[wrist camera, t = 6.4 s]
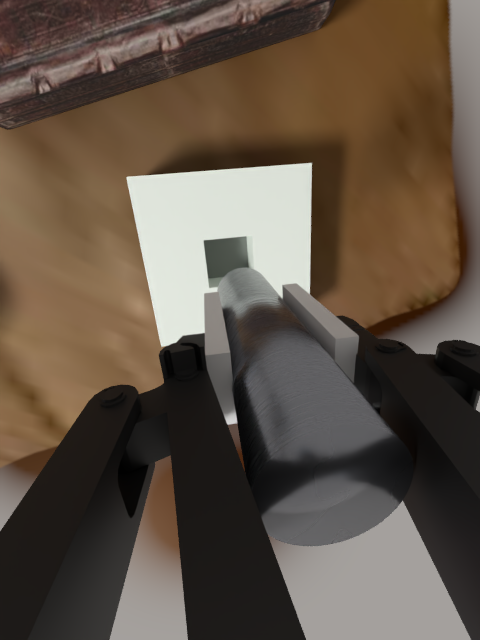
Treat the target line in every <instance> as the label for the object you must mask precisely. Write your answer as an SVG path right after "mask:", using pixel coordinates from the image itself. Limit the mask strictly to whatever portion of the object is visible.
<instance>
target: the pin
mask: <svg viewBox="0 0 480 640" xmlns="http://www.w3.org/2000/svg"><path fill="white" fill-rule="evenodd" d="M217 292H219V295H220V301H221V306H222V311H223V317H224V322H225V327H226V333H227V338H228V343H229V349H230V356H231V365H232V375H233V383H232V392H233V398H234V405H235V411H236V417H237V423H238V430H239V436H240V442H241V449H242V455H243V461H244V467H245V474H246V477H247V480H248V483H249V485H250V488H251V491H252V493H253V496H254V499H255V502H256V504H257V507H258V510H259V513H260V515H261V518H262V521H263V523H264V526H265V529H266V532H267V534H268V535H270V536H271V537H273V538H275V539H277V540H279V541H282V542H285V543H288V544H292V545H300V546H321V545H328V544H333V543H337V542H341V541H344V540H348V539H350V538H353V537H355V536H358V535H360V534H362V533H364V532H366V531H368V530H369V529H371V528H373V527H375V526H376V525H378V524H379V523H380V522H382V521H383V520H384V519H385V518H387V517H388V516H389V515H390V514H391V513H392V512H393V511H394V510H395V509H396V508H397V507H398V505H399V504H400V503H401V502H402V500H403V499H404V497H405V496H406V494H407V492H408V490H409V488H410V485H411V482H412V478H413V471H414V469H413V460H412V456H411V454H410V452H409V449H408V448H407V447H406V445H405V444H404V443H403V441H402V440H401V439H400V438H399V437H398V435H397V434H396V433H395V432H394V431H393V429H392V428H391V427H390V426H389V425H388V424H387V422H386V421H385V420H384V419H383V418H382V416H381V415H380V414H379V413H378V412H377V410H376V409H375V408H374V407H373V406H372V405H371V403H370V402H369V401H368V400H367V399H366V397H365V396H364V395H363V394H362V393H361V391H360V390H359V389H358V388H357V387H356V386H355V384H354V383H353V382H352V381H351V380H350V378H349V377H348V376H347V375H346V374H345V372H344V371H343V370H342V369H341V368H340V367H339V365H338V364H337V363H336V362H335V361H334V359H333V358H332V357H331V356H330V355H329V353H328V352H327V351H326V350H325V349H324V348H323V346H322V345H321V344H320V343H319V342H318V340H317V339H316V338H315V337H314V336H313V334H312V333H311V332H310V331H309V330H308V329H307V327H306V326H305V325H304V324H303V323H302V321H301V320H300V319H299V318H298V317H297V315H296V314H295V313H294V312H293V311H292V310H291V308H290V307H289V306H288V305H287V304H286V302H285V301H284V300H283V299H282V298H281V296H280V295H279V294H278V293H277V292H276V291H275V289H274V288H273V287H272V286H271V285H270V283H269V282H268V281H267V280H266V279H265V277H264V276H263V275H262V274H261V273H259V272H258V271H256V270H254V269H251V268H237V269H234V270H232V271H230V272H228V273H227V274H226V275H225V276H224V277H223V278H222V280H221V281H220V283H219V286H218V289H217Z"/></svg>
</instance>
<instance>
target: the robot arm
mask: <svg viewBox="0 0 480 640" xmlns="http://www.w3.org/2000/svg"><path fill="white" fill-rule="evenodd" d="M282 291H283V300H284V301H285V302H286V304H287V305H288V306H289V307H290V308H291V310H292V311H293V312H294V313H295V314H296V315H297V317H298V318H299V319H300V320H301V321H302V323H303V324H304V325H305V326H306V327H307V329H308V330H309V331H310V332H311V333H312V334H313V336H314V337H315V338H316V339H317V340H318V342H319V343H320V344H321V345H322V346H323V348H324V349H325V350H326V351H327V352H328V353H329V355H330V356H331V357H332V358H333V359H334V361H335V362H336V363H337V364H338V365H339V367H340V368H341V369H342V370H343V371H344V372H345V374H346V375H347V376H348V377H349V378H350V380H351V381H352V382H353V383H354V384H355V386H356V387H357V388H358V389H359V390H360V391H361V393H362V394H363V395H364V396H365V397H366V399H367V400H368V401H369V402H370V403H371V405H372V406H373V407H374V408H375V409H376V410H377V412H378V413H379V414H380V415H381V416H382V418H383V419H384V420H385V421H386V422H387V424H388V425H389V426H390V427H391V428H392V429H393V431H394V432H395V433H396V434H397V435H398V437H399V438H400V439H401V440H402V441H403V443H404V444H405V445H406V447H407V448H408V449H409V452H410V454H411V456H412V460H413V469H414V471H413V478H412V482H411V485H410V488H409V490H408V492H407V494H406V496H405V497H404V499H403V502H404V503H405V506H406V508H407V510H408V512H409V514H410V516H411V518H412V520H413V522H414V524H415V526H416V528H417V530H418V532H419V534H420V536H421V538H422V540H423V542H424V544H425V546H426V548H427V550H428V552H429V554H430V556H431V559H432V561H433V563H434V565H435V566H436V568H437V571H438V573H439V575H440V577H441V579H442V581H443V583H444V585H445V587H446V589H447V591H448V593H449V595H450V597H451V599H452V601H453V603H454V605H455V607H456V609H457V611H458V613H459V616H460V618H461V620H462V622H463V624H464V625H465V628H466V630H467V632H468V634H469V636H470V638H471V640H480V412H478V411H477V410H476V406H477V403H478V400H479V396H480V346H478V345H475V344H472V343H468V342H466V341H461V340H459V341H458V340H452V341H444V342H441V343H439V344H438V346H437V350H436V355H433V354H416V353H415V352H414V351H413V350H412V349H411V348H410V347H408V346H407V345H406V344H404V343H402V342H399V341H395V340H390V339H378V338H376V337H375V336H374V335H372V334H371V333H370V332H369V331H367V330H365V328H363V327H362V326H361V325H360V326H359V324H358V323H357V322H356V321H354V320H353V319H350V318H348V317H345V316H335V315H333V314H332V313H331V312H330V311H329V310H328V309H326V308H325V307H324V306H323V305H322V304H320V303H319V302H318V301H317V300H316V299H315V298H313V297H312V296H311V295H310V294H309V293H307V292H306V291H305V290H304V289H303V288H302V287H300V286H299V285H298V284H297V283H294V284H285V285H282ZM204 319H205V333H200V334H192V335H184V336H182V337H181V338H180V339H179V340H178V341H177V342H176V343H173V344H170V345H168V346H166V347H165V348H163V349H162V350H161V351H160V354H159V359H160V363H161V368H162V373H163V378H164V384H162V385H161V386H159V387H157V388H155V389H153V390H150V391H147V392H144V393H141V394H138V391H137V389H136V388H135V387H133V386H130V385H117V386H112V387H109V388H106V389H104V390H102V391H101V392H99V393H97V394H96V395H94V396H93V398H92V399H91V400H90V401H89V402H88V403H87V405H86V406H85V408H84V409H83V411H82V412H81V414H80V415H79V417H78V418H77V420H76V421H75V422H74V424H73V425H72V427H71V428H70V430H69V431H68V433H67V434H66V436H65V437H64V439H63V440H62V442H61V443H60V445H59V446H58V447H57V449H56V450H55V452H54V454H53V455H52V456H51V458H50V459H49V461H48V462H47V464H46V465H45V467H44V468H43V470H42V471H41V472H40V474H39V475H38V477H37V478H36V480H35V481H34V483H33V484H32V486H31V487H30V489H29V490H28V492H27V493H26V495H25V496H24V497H23V499H22V500H21V502H20V503H19V505H18V506H17V508H16V509H15V511H14V512H13V514H12V515H11V516H10V518H9V519H8V521H7V522H6V524H5V525H4V527H3V528H2V530H1V531H0V640H109V639H110V635H111V631H112V627H113V623H114V620H115V616H116V612H117V608H118V604H119V601H120V597H121V593H122V589H123V586H124V582H125V578H126V574H127V570H128V567H129V563H130V559H131V555H132V552H133V548H134V544H135V540H136V536H137V533H138V528H139V525H140V521H141V517H142V513H143V510H144V506H145V502H146V498H147V495H148V491H149V487H150V483H151V479H152V476H153V472H154V468H155V462H156V461H158V460H160V459H163V458H165V457H167V456H170V455H171V460H172V472H173V483H174V494H175V504H176V514H177V525H178V537H179V548H180V558H181V569H182V580H183V590H184V602H185V612H186V623H187V634H188V640H306V638H305V635H304V633H303V630H302V627H301V624H300V622H299V619H298V617H297V614H296V611H295V608H294V606H293V603H292V600H291V597H290V595H289V592H288V589H287V586H286V584H285V581H284V578H283V575H282V573H281V570H280V567H279V565H278V562H277V559H276V557H275V554H274V551H273V548H272V545H271V543H270V540H269V537H268V534H267V532H266V529H265V526H264V523H263V521H262V518H261V515H260V513H259V510H258V507H257V504H256V502H255V499H254V496H253V493H252V491H251V488H250V485H249V483H248V480H247V477H246V474H245V472H244V469H243V467H242V463H241V461H240V458H239V455H238V453H237V450H236V447H235V444H234V442H233V439H232V436H231V434H230V431H229V428H228V424H234V423H237V417H236V411H235V405H234V398H233V392H232V383H233V375H232V365H231V356H230V349H229V343H228V338H227V333H226V327H225V322H224V317H223V311H222V306H221V301H220V295H219V292H212V293H204Z"/></svg>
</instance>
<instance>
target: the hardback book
mask: <svg viewBox="0 0 480 640" xmlns="http://www.w3.org/2000/svg"><path fill="white" fill-rule="evenodd" d="M334 3H335V0H0V127H2V128H5V129H7V130H8V129H13V128H16V127H19V126H22V125H25V124H28V123H31V122H34V121H37V120H40V119H44V118H47V117H50V116H53V115H56V114H59V113H62V112H65V111H68V110H71V109H74V108H77V107H81V106H84V105H87V104H90V103H93V102H96V101H99V100H102V99H105V98H108V97H111V96H114V95H118V94H121V93H124V92H127V91H130V90H133V89H136V88H139V87H142V86H145V85H148V84H152V83H155V82H158V81H161V80H164V79H167V78H170V77H173V76H176V75H179V74H182V73H186V72H189V71H192V70H195V69H198V68H201V67H204V66H207V65H210V64H213V63H216V62H220V61H223V60H226V59H229V58H232V57H235V56H238V55H241V54H244V53H247V52H250V51H254V50H257V49H260V48H263V47H266V46H269V45H272V44H276V43H279V42H282V41H285V40H288V39H291V38H294V37H297V36H300V35H303V34H306V33H309V32H313V31H316V30H318V29H320V28H321V26H322V25H323V23H324V22H325V20H326V19H327V17H328V16H329V14H330V13H331V10H332V8H333V5H334Z"/></svg>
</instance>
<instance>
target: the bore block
mask: <svg viewBox="0 0 480 640" xmlns="http://www.w3.org/2000/svg"><path fill="white" fill-rule="evenodd" d="M126 178H127V183H128V187H129V192H130V197H131V202H132V207H133V212H134V216H135V221H136V226H137V231H138V236H139V241H140V246H141V250H142V255H143V260H144V265H145V270H146V275H147V279H148V284H149V289H150V294H151V299H152V304H153V309H154V313H155V318H156V323H157V328H158V333H159V338H160V342H161V346H168V345H170V344H173V343H176V342H177V341H178V340H179V339H180V338H181V337H182V336H184V335H192V334H200V333H205V319H204V293H212V292H217V289H218V286H219V283H220V281H221V280H222V278H223V277H224V276H225V275H226V274H227V273H228V272H230V271H232V270H234V269H237V268H251V269H254V270H256V271H258V272H259V273H261V274H262V275H263V276H264V277H265V279H266V280H267V281H268V282H269V283H270V285H271V286H272V287H273V288H274V289H275V291H276V292H277V293H278V294H279V295H280V296H281V298H282V299H283V291H282V285H285V284H294V283H297V284H298V285H299V286H300V287H302V288H303V289H304V290H305V291H306V292H307V293H309V294H310V253H311V187H312V163H304V164H291V165H277V166H264V167H251V168H238V169H225V170H211V171H198V172H185V173H172V174H158V175H145V176H132V177H126Z"/></svg>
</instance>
